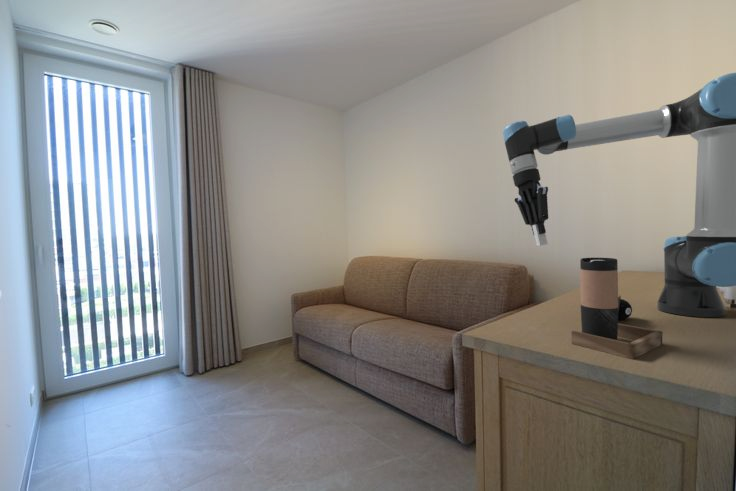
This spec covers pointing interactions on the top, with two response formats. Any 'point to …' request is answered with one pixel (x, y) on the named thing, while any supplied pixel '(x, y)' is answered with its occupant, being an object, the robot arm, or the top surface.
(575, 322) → the top surface
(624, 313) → the billiard ball
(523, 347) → the top surface
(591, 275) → the travel mug
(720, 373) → the top surface
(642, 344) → the shallow wooden tray
